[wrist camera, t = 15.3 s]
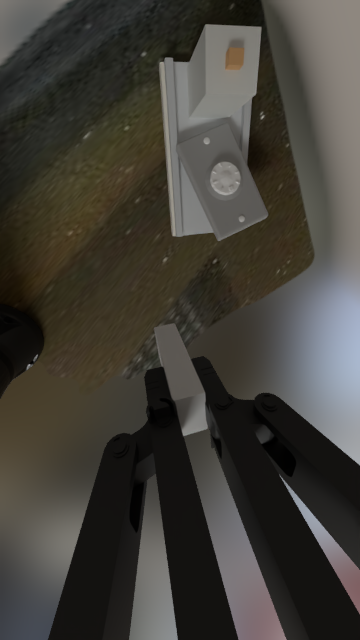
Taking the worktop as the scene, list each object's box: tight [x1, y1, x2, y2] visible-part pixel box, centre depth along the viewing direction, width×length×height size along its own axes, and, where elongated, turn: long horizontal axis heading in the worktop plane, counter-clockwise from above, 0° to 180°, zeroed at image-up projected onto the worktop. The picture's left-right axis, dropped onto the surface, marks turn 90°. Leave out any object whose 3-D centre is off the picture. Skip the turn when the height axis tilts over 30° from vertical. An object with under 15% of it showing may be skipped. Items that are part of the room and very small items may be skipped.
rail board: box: [159, 24, 261, 237], centre depth 30 cm, size 13×21×10 cm, turn 4°
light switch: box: [176, 122, 268, 241], centre depth 33 cm, size 8×6×14 cm
